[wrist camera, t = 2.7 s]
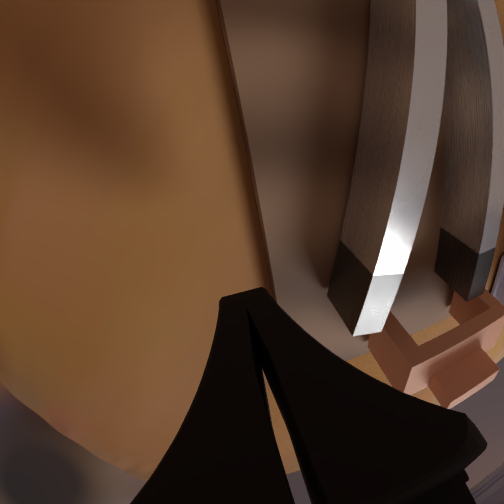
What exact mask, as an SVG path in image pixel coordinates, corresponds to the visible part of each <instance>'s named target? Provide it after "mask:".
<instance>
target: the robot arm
mask: <svg viewBox="0 0 504 504" xmlns="http://www.w3.org/2000/svg"><path fill="white" fill-rule="evenodd" d="M491 295H492V296H494V297H495V298H496V299H497V300H498V301H499V302H500V303H501V304H502V305H503V306H504V255H503V256H502V258H501V260H500V264H499V268H498V271H497V275H496V278H495V282H494V285H493V288H492V291H491ZM262 369H263V371H264V374H265V376H266V379H267V381H268V383H269V386H270V388H271V391H272V393H273V396H274V398H275V400H276V403H277V405H278V407H279V410H280V412H281V415H282V417H283V419H284V422H285V424H286V427H287V429H288V432H289V435H290V438H291V441H292V444H293V447H294V451H295V454H296V457H297V460H298V463H299V466H300V469H301V472H302V476H303V479H304V482H305V485H306V488H307V491H308V494H309V498H310V501H311V504H504V463H502V464H501V465H500V466H499V467H497V468H496V469H495V470H494V471H493V472H491V473H490V474H489V475H488V476H486V477H485V478H484V479H483V480H481V481H480V482H478V483H477V484H476V485H474V486H473V487H472V488H470V489H468V487H467V485H466V483H465V482H467V481H468V480H469V477H468V475H467V473H466V472H465V470H464V469H465V468H466V467H467V466H468V465H469V464H471V462H473V461H474V460H475V459H476V458H477V457H478V456H479V455H480V454H482V452H483V451H484V450H485V449H486V447H487V442H486V440H485V439H484V437H483V436H482V434H481V433H480V431H479V430H478V428H477V427H476V426H475V424H474V423H473V422H472V421H471V420H470V419H469V418H468V417H467V415H466V414H465V413H461V412H457V411H453V410H450V409H447V408H444V407H441V406H438V405H435V404H432V403H429V402H426V401H423V400H421V399H418V398H416V397H413V396H411V395H408V394H406V393H403V392H401V391H399V390H397V389H395V388H393V387H391V386H389V385H387V384H385V383H383V382H381V381H379V380H377V379H375V378H373V377H371V376H369V375H367V374H366V373H364V372H362V371H361V370H359V369H357V368H355V367H354V366H352V365H351V364H349V363H348V362H346V361H344V360H343V359H341V358H340V357H338V356H337V355H336V354H334V353H333V352H331V351H330V350H329V349H327V348H326V347H325V346H323V345H322V344H321V343H320V342H318V341H317V340H316V339H315V338H313V337H312V336H311V335H310V334H309V333H307V332H306V331H305V330H304V329H303V328H302V327H301V326H300V325H298V324H297V323H296V322H295V321H294V320H293V319H292V318H291V317H290V316H289V315H288V314H287V313H286V312H285V311H284V310H283V309H282V308H281V307H280V306H279V305H278V304H277V302H276V301H275V300H274V299H273V298H272V297H271V295H270V294H269V293H268V291H267V290H266V289H265V288H263V287H260V288H256V289H252V290H248V291H244V292H240V293H237V294H233V295H229V296H225V297H222V298H221V299H220V301H219V313H218V320H217V325H216V331H215V335H214V339H213V343H212V347H211V351H210V354H209V358H208V361H207V364H206V367H205V370H204V373H203V376H202V379H201V382H200V385H199V387H198V390H197V392H196V395H195V397H194V400H193V402H192V404H191V407H190V409H189V411H188V413H187V415H186V417H185V419H184V421H183V423H182V425H181V427H180V429H179V431H178V433H177V435H176V437H175V439H174V440H173V442H172V444H171V445H170V447H169V449H168V450H167V452H166V454H165V455H164V457H163V458H162V460H161V462H160V463H159V465H158V466H157V468H156V470H155V471H154V473H153V474H152V475H151V477H150V478H149V480H148V481H147V482H146V484H145V485H144V486H143V488H142V489H141V490H140V492H139V493H138V494H137V496H136V497H135V498H134V499H133V501H132V502H131V503H130V504H295V502H294V499H293V496H292V492H291V489H290V486H289V483H288V480H287V477H286V473H285V470H284V466H283V463H282V460H281V456H280V453H279V450H278V446H277V443H276V439H275V435H274V431H273V427H272V421H271V416H270V410H269V405H268V399H267V394H266V388H265V383H264V377H263V371H262Z"/></svg>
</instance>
